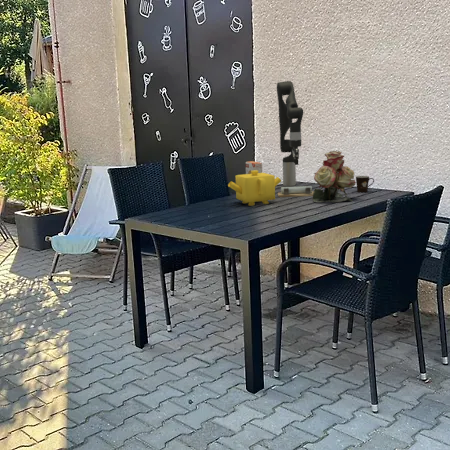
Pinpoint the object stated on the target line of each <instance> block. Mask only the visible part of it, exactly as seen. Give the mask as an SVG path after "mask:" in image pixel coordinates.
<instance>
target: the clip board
mask: <svg viewBox="0 0 450 450" xmlns="http://www.w3.org/2000/svg"><path fill="white" fill-rule="evenodd" d="M313 193H314V190H312V193H310V187H309V188H305V193H294V194H289V188H284V194H281V192H277V196H278V198H292V197H293V198H294V197H296V198H297V197H313Z"/></svg>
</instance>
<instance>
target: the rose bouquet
mask: <svg viewBox="0 0 450 450" xmlns="http://www.w3.org/2000/svg"><path fill="white" fill-rule="evenodd" d="M323 155H324V156H325V157H326V160H325V159H324V160H322V166H321V167H320V168H318V170H316V172H314V173H313V174H314V175H313V180H314V181H315V182H316V185H318V188H314V189H313V191H314V193H313V196H312V200H313V202H314V203H327V202H328V203H341V202H345V201H349V202H353V201H354V199H351V197H350V198H349V197H348V193H346V190H345V188H349V189H350V188H353V187H355V186H356V179H355V171H354V170H353V169H351V168H350V167H349V166H345V165H344V164H345V160H344V158H345V155H343V154H342V151H340V150H338V151H336V150H331V151H329V152H327V153H324V154H323ZM323 189H324V190H323ZM339 191H341V192H342V193H343V194H345V195H344V196H345V197H342V196H343V194H342V193H340V192H339Z"/></svg>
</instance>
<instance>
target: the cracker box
mask: <svg viewBox="0 0 450 450" xmlns="http://www.w3.org/2000/svg"><path fill="white" fill-rule="evenodd" d="M253 170H258V173H263V162H258V161H254V160H252V161H251V160H249V161H246V162H245V174H252V173H251V171H253Z"/></svg>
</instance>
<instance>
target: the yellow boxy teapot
mask: <svg viewBox="0 0 450 450" xmlns="http://www.w3.org/2000/svg"><path fill="white" fill-rule="evenodd" d="M251 173H252V174H246V173H243V174H237V175H235V182H233V181H230V182H229V183H228V184H227V186H228V188H230V189H232V190H234V191H235V193H236V194H235V195H236V196H235V198H236V200H238V201H241V203H242V204H248V205H247V206H255V204H256V202H258V203H262V205H269V204H270V202H269V201H273V200H276V187H277V185H279V184H280V183H281V182H282V179H281V178H279V176H277V177H275V176H276V175H273V174H271V173H267V172H262V173H258V170H253V171H251Z"/></svg>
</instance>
